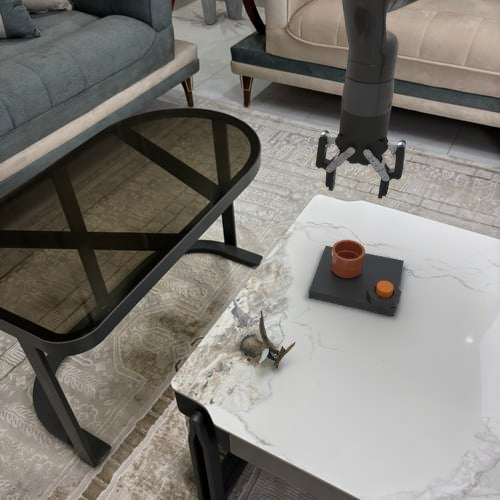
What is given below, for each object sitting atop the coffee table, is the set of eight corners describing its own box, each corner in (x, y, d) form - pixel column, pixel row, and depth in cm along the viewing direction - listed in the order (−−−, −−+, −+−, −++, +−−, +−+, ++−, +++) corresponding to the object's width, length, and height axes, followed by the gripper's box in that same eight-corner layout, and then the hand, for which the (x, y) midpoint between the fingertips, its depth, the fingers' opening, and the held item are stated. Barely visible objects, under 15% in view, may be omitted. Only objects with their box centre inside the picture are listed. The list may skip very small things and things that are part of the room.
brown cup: (364, 262, 100) (367, 243, 97) (359, 282, 96) (362, 263, 93) (334, 256, 102) (336, 237, 99) (327, 276, 98) (329, 256, 94)
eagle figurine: (302, 346, 85) (267, 311, 90) (291, 340, 79) (254, 303, 83) (272, 379, 85) (238, 343, 90) (258, 375, 79) (223, 336, 83)
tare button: (393, 288, 93) (394, 282, 92) (391, 299, 90) (392, 293, 89) (377, 285, 93) (378, 279, 92) (374, 296, 91) (375, 290, 90)
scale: (404, 267, 101) (407, 254, 99) (395, 318, 91) (398, 305, 89) (325, 252, 106) (326, 239, 104) (307, 299, 96) (308, 286, 93)
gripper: (416, 99, 77) (399, 187, 88) (326, 89, 81) (320, 175, 92) (411, 120, 72) (394, 211, 82) (315, 108, 76) (310, 197, 86)
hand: (355, 192), depth 87 cm, fingers open, 8 cm apart
